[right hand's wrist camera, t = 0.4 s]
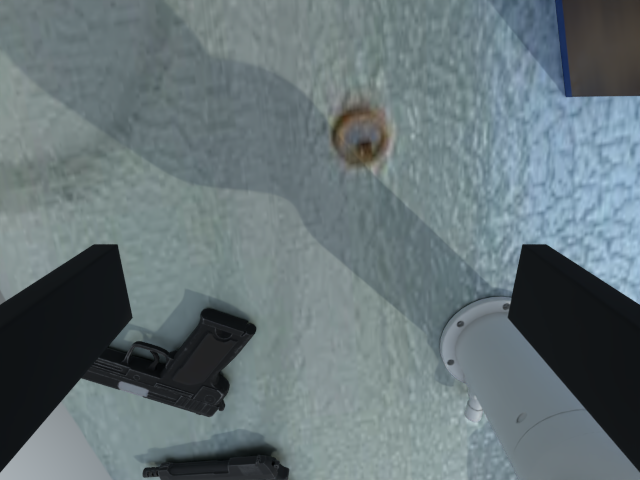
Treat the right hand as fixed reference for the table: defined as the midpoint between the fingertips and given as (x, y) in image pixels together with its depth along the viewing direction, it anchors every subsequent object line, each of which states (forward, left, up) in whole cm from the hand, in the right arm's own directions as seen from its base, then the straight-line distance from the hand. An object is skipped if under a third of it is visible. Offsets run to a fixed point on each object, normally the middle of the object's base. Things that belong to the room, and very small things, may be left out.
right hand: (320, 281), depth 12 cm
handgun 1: (+22, -20, -28) cm, 41 cm away
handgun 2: (+48, -13, -28) cm, 57 cm away
